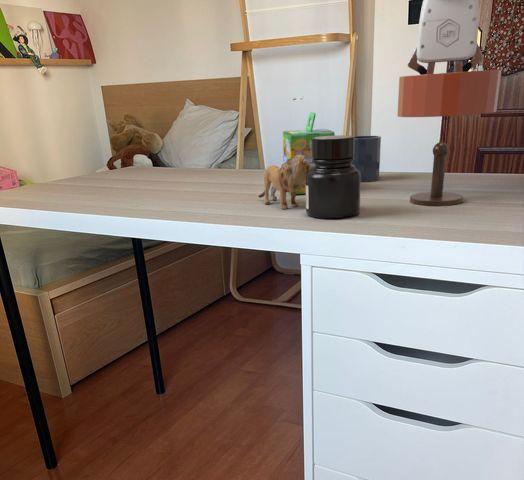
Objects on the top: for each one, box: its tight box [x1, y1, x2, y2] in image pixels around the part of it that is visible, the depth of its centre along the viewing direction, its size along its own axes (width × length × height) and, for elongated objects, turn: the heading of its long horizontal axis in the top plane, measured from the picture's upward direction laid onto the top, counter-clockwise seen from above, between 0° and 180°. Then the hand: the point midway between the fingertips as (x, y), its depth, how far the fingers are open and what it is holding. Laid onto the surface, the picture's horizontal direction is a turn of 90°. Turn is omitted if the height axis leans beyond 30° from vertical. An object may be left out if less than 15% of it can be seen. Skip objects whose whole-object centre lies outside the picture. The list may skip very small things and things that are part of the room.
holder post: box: [409, 141, 464, 207], centre depth 92 cm, size 9×9×10 cm
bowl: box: [397, 69, 502, 118], centre depth 90 cm, size 16×23×6 cm
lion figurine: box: [258, 155, 312, 210], centre depth 96 cm, size 15×5×9 cm, turn 36°
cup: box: [351, 135, 382, 183], centre depth 118 cm, size 8×8×9 cm
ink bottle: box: [305, 134, 362, 219], centre depth 86 cm, size 10×9×12 cm
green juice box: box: [282, 112, 336, 195], centre depth 107 cm, size 9×9×15 cm
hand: (441, 103), depth 99 cm, fingers closed on bowl, 3 cm apart
